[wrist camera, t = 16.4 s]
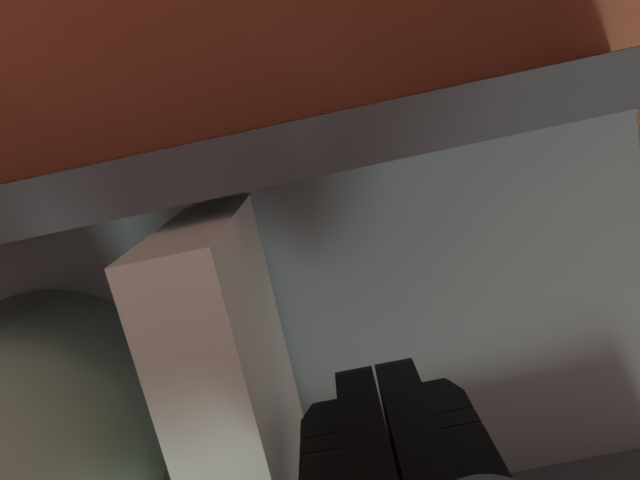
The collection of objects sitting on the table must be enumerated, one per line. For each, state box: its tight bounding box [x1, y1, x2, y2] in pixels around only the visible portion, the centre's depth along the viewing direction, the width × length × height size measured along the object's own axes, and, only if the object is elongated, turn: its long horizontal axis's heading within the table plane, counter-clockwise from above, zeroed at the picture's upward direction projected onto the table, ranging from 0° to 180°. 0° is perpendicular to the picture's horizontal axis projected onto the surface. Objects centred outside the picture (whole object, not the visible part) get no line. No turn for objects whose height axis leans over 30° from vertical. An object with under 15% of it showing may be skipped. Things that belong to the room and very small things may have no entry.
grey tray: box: [0, 46, 640, 480], centre depth 12 cm, size 11×20×4 cm, turn 102°
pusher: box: [104, 195, 304, 480], centre depth 11 cm, size 8×2×5 cm, turn 12°
